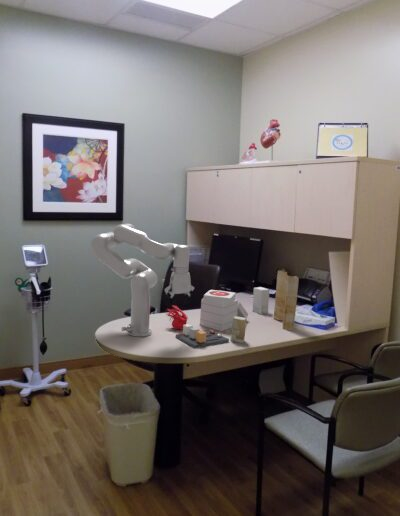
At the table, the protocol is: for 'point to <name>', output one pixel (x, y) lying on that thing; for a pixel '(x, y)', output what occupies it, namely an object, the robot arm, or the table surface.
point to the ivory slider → (187, 329)
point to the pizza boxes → (220, 309)
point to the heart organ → (177, 318)
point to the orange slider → (201, 336)
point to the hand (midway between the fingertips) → (178, 304)
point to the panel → (211, 339)
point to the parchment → (286, 299)
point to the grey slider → (193, 332)
